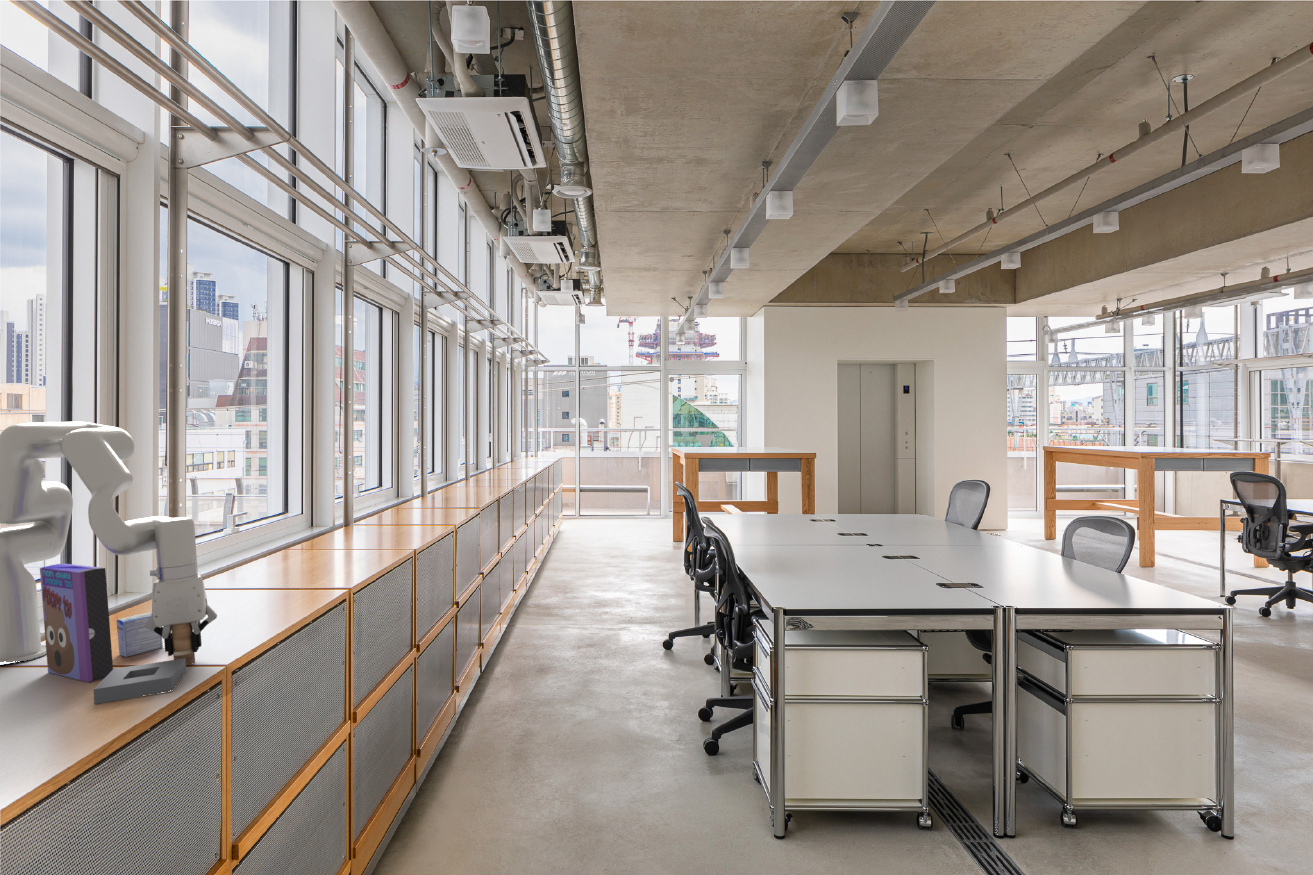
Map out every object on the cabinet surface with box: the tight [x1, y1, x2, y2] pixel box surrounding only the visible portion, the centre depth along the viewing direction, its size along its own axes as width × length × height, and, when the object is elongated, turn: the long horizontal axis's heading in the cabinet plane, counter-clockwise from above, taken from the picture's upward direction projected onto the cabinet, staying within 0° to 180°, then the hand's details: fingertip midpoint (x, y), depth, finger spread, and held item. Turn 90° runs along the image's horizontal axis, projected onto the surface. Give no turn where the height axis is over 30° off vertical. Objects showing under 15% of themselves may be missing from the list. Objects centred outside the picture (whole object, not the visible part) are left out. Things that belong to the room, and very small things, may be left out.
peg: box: [171, 623, 196, 666], centre depth 165 cm, size 4×4×12 cm
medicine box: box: [116, 611, 164, 658], centre depth 176 cm, size 8×4×9 cm, turn 144°
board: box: [93, 658, 187, 705], centre depth 151 cm, size 13×13×3 cm
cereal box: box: [39, 563, 114, 684], centre depth 161 cm, size 17×5×24 cm, turn 62°
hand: (183, 651), depth 165 cm, fingers closed on peg, 4 cm apart
